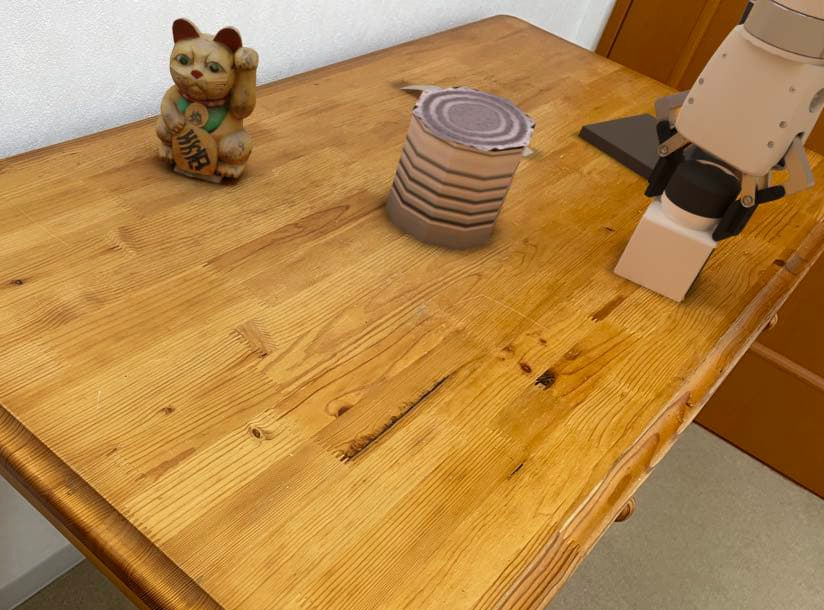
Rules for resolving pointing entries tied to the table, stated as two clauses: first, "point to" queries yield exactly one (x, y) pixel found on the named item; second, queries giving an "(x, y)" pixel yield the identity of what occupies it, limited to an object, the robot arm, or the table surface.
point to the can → (457, 166)
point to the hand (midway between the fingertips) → (688, 214)
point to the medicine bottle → (679, 229)
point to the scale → (638, 144)
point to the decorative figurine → (208, 103)
